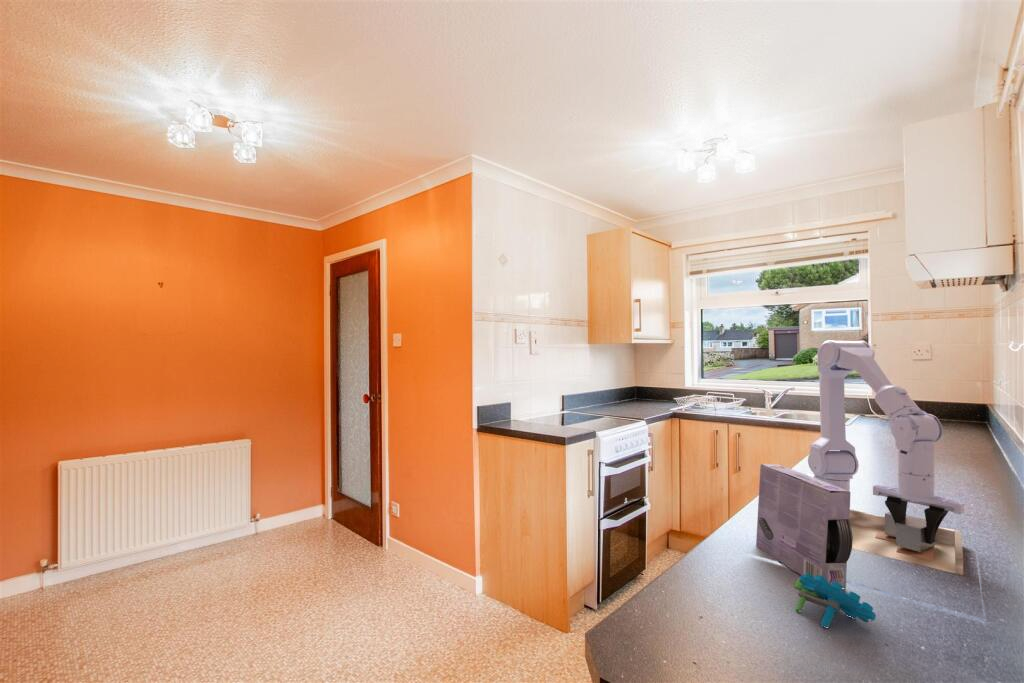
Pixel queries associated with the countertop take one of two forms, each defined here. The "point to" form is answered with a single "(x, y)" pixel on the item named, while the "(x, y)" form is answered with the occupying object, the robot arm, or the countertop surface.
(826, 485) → the cake pan box
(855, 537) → the board
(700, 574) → the countertop surface
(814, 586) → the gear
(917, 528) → the bracket
